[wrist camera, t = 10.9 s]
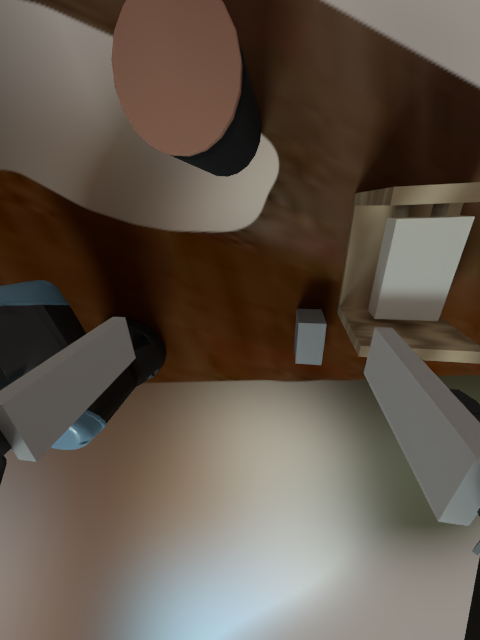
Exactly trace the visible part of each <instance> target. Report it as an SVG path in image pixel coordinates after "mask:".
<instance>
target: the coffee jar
mask: <svg viewBox="0 0 480 640" xmlns="http://www.w3.org/2000/svg"><path fill="white" fill-rule="evenodd" d="M112 67H113V74H114V83H115V89H116V91H117V94H118V97H119V100H120V103H121V106H122V109H123V111H124V113H125V115H126V116H127V118H128V120H129V121H130V122H131V124H132V126H133V128H134V129H135V131H136V132H137V133H138V134H139V135H140V136H141V137H142V138H143V139H144V140H145V141H146V142H147V143H149V144H150V145H151V146H152V147H153V148H156V149H158V150H160V151H162V152H164V153H167V154H169V155H171V156H173V157H175V158H178V159H180V160H182V161H184V162H187V163H189V164H191V165H193V166H196V167H198V168H200V169H202V170H205V171H207V172H210V173H212V174H214V175H216V176H231V175H234V174H237V173H239V172H240V171H242V170H243V169H244V168H245V167H247V166H248V165H249V163H250V162H251V160H252V159H253V158H254V156H255V154H256V151H257V148H258V145H259V143H260V136H261V122H260V116H259V111H258V107H257V103H256V100H255V96H254V92H253V89H252V85H251V81H250V77H249V74H248V70H247V66H246V63H245V59H244V55H243V52H242V49H241V47H240V45H239V42H238V36H237V31H236V28H235V26H234V24H233V22H232V20H231V17H230V15H229V13H228V11H227V9H226V6H225V4H224V2H223V1H222V0H126V2H125V3H124V4H123V7H122V10H121V13H120V16H119V19H118V21H117V24H116V27H115V30H114V38H113V49H112Z"/></svg>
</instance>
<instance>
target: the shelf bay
mask: <svg viewBox="0 0 480 640" xmlns="http://www.w3.org/2000/svg"><path fill="white" fill-rule="evenodd" d="M465 202H480V182H476V183H457V184H438V185H419V186H400V187H390V188H384V189H378V190H372V191H366V192H360V193H355V197H354V203H353V210H352V217H351V224H350V230H349V237H348V244H347V250H346V257H345V264H344V270H343V277H342V284H341V291H340V297H339V304H338V311H337V314H338V316H339V318H340V320H341V322H342V324H343V326H344V328H345V330H346V332H347V334H348V336H349V338H350V340H351V342H352V344H353V346H354V348H355V350H356V352H357V354H358V356H361V357H368V354H369V350H370V345H371V341H372V337H373V333H374V329H375V327H385V328H393V329H394V330H395V331H396V333H397V334H398V335H399V336H400V337H401V338H402V339H403V340H404V341H405V342H406V343H407V344H408V346H409V347H410V348H411V349H412V350H413V351H414V352H415V353H416V354H417V355H418V356H419V357H420V359H421V360H430V361H447V362H464V363H480V345H478V344H477V343H475V342H474V341H473V340H471V339H470V338H468V337H467V336H466V335H464V334H463V333H461V332H460V331H459V330H457V329H456V328H455V327H453V326H452V325H450V324H449V323H448V322H446V321H445V320H443V319H442V318H441V317H439V320H438V321H424V320H393V319H374V318H373V316H372V315H371V314H370V313H369V311H368V307H369V302H370V298H371V293H372V288H373V283H374V278H375V274H376V269H377V264H378V259H379V254H380V250H381V245H382V240H383V235H384V230H385V226H386V221H387V218H399V217H430V216H460V213H461V210H462V207H463V203H465Z"/></svg>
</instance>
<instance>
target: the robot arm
mask: <svg viewBox="0 0 480 640" xmlns="http://www.w3.org/2000/svg"><path fill="white" fill-rule="evenodd" d="M70 306H71V305H70V303H68V302H67V301H66V300H65V298H64V297H63V295H62V294H61V293H60V291H59V290H58V288H57V287H56V286H55V285H54V284H52V283H50V282H48V281H43V280H38V281H29V282H22V283H16V284H10V285H4V286H0V484H1V481H2V477H3V474H4V471H5V467H6V458H5V457H4V454H6V453H7V452H8V451H9V450H10V449H11V448H12V450H13V451H14V453H15V454H16V456H17V457H18V459H21V460H27V461H34V462H37V461H38V460H39V459H40V458H41V457H42V456H43V455H44V454H45V452H46V451H47V450H48V449H49V448H50V447H52V448H55V449H61V450H74V449H78V448H81V447H83V446H85V445H87V444H88V443H89V442H90V441H91V440H92V439H93V438H94V437H95V436H96V435H97V434H98V433H99V432H100V431H101V430H102V429H103V428H104V427H105V426H106V423H107V422H108V421H109V420H110V419H111V417H112V416H113V415H114V414H115V412H116V411H117V410H118V409H119V407H120V406H121V405H122V404H123V402H124V401H125V400H126V399H127V397H128V396H129V395H130V394H131V392H132V391H133V390H134V389H135V388H136V387H137V386H139V385H140V384H142V383H144V382H145V381H147V380H149V379H150V378H152V377H154V376H155V375H156V374H157V373H158V372H159V370H160V369H161V368H162V366H163V364H164V362H165V349H164V346H163V344H162V342H161V340H160V338H159V337H158V336H157V335H156V333H155V332H154V331H153V330H151V329H150V328H149V327H147V326H146V325H144V324H142V323H140V322H138V321H135V320H130V319H125V317H112V318H110V319H109V320H107V321H106V322H104V323H103V324H101V325H99V326H98V327H96V328H95V329H93V330H92V331H90V332H89V333H87V334H86V332H85V331H84V329H83V327H82V326H81V324H80V322H79V320H78V319H77V317H76V315H75V314H74V312H73V310H72V309H71V307H70ZM364 375H365V377H366V379H367V380H368V383H369V385H370V387H371V389H372V390H373V393H374V395H375V397H376V399H377V401H378V403H379V405H380V407H381V409H382V411H383V413H384V415H385V417H386V419H387V421H388V423H389V425H390V427H391V429H392V430H393V433H394V435H395V437H396V439H397V441H398V442H399V445H400V447H401V449H402V451H403V452H404V454H405V457H406V459H407V460H408V463H409V465H410V467H411V469H412V471H413V472H414V475H415V477H416V479H417V480H418V482H419V484H420V487H421V489H422V490H423V493H424V494H425V496H426V499H427V500H428V502H429V504H430V506H431V508H432V510H433V512H434V514H435V516H436V518H437V520H438V521H439V522H445V523H452V524H459V525H466V526H469V525H470V524H471V522H472V521H473V519H474V518H475V517H476V515H477V514H479V516H480V404H479V403H478V402H477V401H476V400H474V399H472V398H471V397H469V396H468V395H466V394H465V393H463V392H461V391H460V390H455V389H448V388H447V387H446V386H445V385H444V383H442V381H441V380H440V379H439V378H438V377H437V376H436V375H435V374H434V373H433V372H432V370H431V369H430V368H429V367H428V366H427V365H426V364H425V363H424V362H423V361H422V360H421V359H420V357H419V356H418V355H417V354H416V353H415V352H414V351H413V350H412V349H411V348H410V347H409V346H408V344H407V343H406V342H405V341H404V340H403V339H402V338H401V337H400V336H399V335H398V334H397V333H396V331H395V330H394V329H393V328H385V327H375V329H374V333H373V337H372V341H371V345H370V350H369V354H368V358H367V362H366V366H365V371H364ZM473 552H474V553H475V554H477V555H478V554H479V553H480V541H479V542H478V544H477V545H476V546H475V548H474V549H473ZM464 640H480V559H479V564H478V569H477V574H476V580H475V585H474V591H473V596H472V601H471V607H470V612H469V618H468V623H467V628H466V634H465V639H464Z"/></svg>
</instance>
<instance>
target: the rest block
mask: <svg viewBox="0 0 480 640" xmlns="http://www.w3.org/2000/svg"><path fill="white" fill-rule="evenodd" d="M326 325H327V323H326V321H325V318H324V315H323V312H322V309H297V313H296V328H295V342H294V349H295V363H299V364H314V365H321V363H322V356H323V348H324V341H325V333H326Z"/></svg>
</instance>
